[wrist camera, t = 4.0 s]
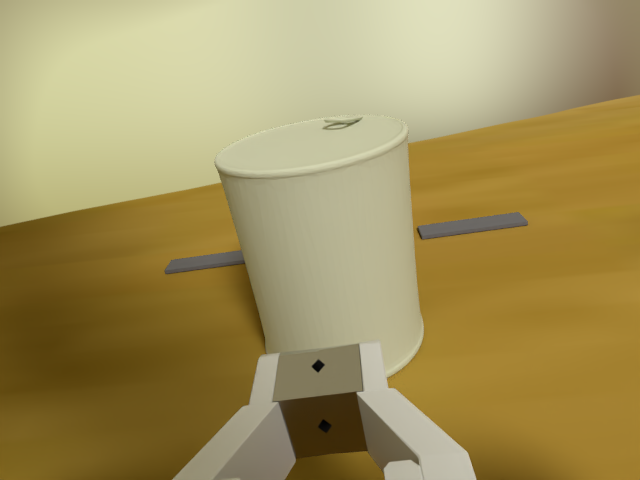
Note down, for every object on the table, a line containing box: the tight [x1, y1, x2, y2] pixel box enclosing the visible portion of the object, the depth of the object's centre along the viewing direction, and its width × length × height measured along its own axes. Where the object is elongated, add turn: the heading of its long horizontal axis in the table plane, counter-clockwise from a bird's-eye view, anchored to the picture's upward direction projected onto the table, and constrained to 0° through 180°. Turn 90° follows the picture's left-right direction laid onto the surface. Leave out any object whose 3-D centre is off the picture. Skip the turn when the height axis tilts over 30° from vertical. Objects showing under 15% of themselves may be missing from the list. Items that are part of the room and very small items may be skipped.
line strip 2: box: [418, 212, 528, 239], centre depth 34 cm, size 8×2×1 cm, turn 89°
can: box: [215, 115, 424, 378], centre depth 23 cm, size 9×9×12 cm
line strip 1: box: [165, 250, 245, 274], centre depth 36 cm, size 8×2×1 cm, turn 89°
